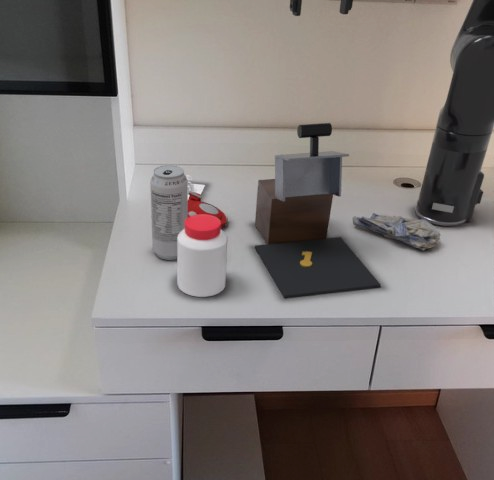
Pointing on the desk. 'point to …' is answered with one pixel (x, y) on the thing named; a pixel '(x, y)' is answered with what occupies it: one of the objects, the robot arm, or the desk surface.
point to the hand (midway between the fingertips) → (320, 14)
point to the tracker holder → (203, 208)
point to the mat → (315, 267)
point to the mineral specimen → (402, 229)
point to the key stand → (291, 215)
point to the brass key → (306, 259)
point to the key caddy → (309, 167)
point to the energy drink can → (168, 209)
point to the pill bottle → (201, 256)
